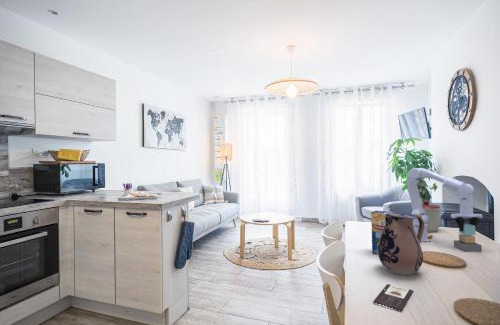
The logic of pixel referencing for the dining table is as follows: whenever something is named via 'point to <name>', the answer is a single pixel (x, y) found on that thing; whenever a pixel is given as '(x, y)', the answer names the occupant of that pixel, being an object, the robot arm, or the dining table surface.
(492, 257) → the dining table surface
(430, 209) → the canister
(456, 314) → the dining table surface
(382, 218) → the beverage box
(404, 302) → the chocolate bar
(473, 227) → the pale teal cube
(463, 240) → the wooden block
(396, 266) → the ceramic pitcher
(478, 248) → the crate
